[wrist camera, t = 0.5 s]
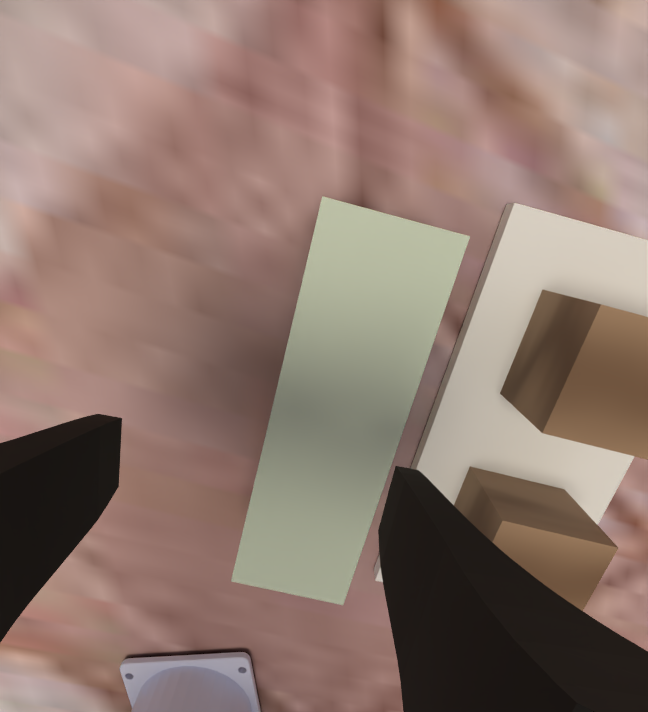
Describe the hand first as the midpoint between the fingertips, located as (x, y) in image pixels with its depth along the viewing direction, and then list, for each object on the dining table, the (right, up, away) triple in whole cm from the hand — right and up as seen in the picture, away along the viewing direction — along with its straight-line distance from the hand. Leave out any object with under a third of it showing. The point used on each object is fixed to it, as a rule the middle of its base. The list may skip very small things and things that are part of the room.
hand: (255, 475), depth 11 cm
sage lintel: (+2, +2, +10) cm, 10 cm away
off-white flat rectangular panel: (+12, -1, +10) cm, 16 cm away
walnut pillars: (+12, -1, +10) cm, 16 cm away
